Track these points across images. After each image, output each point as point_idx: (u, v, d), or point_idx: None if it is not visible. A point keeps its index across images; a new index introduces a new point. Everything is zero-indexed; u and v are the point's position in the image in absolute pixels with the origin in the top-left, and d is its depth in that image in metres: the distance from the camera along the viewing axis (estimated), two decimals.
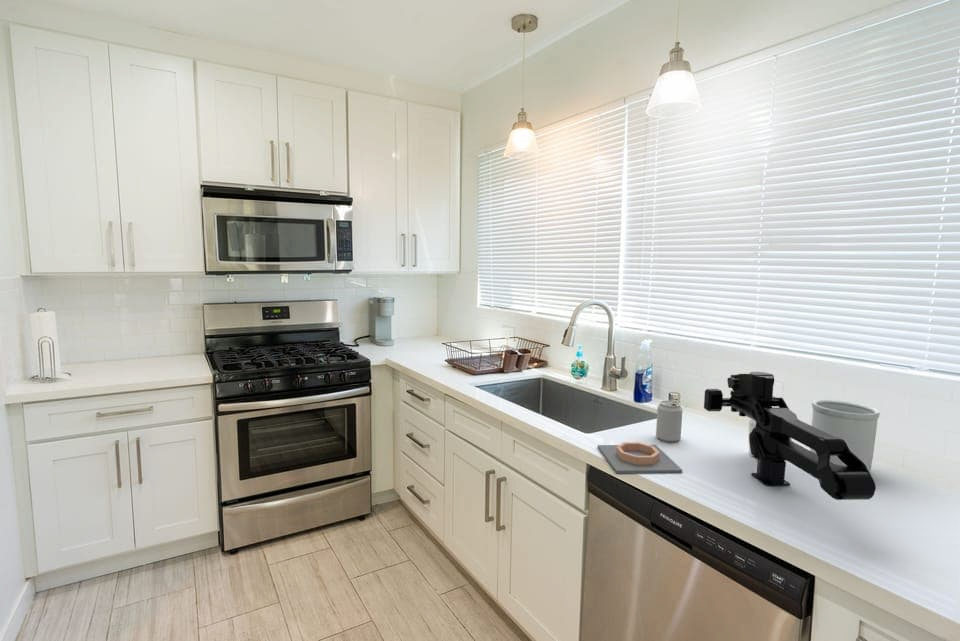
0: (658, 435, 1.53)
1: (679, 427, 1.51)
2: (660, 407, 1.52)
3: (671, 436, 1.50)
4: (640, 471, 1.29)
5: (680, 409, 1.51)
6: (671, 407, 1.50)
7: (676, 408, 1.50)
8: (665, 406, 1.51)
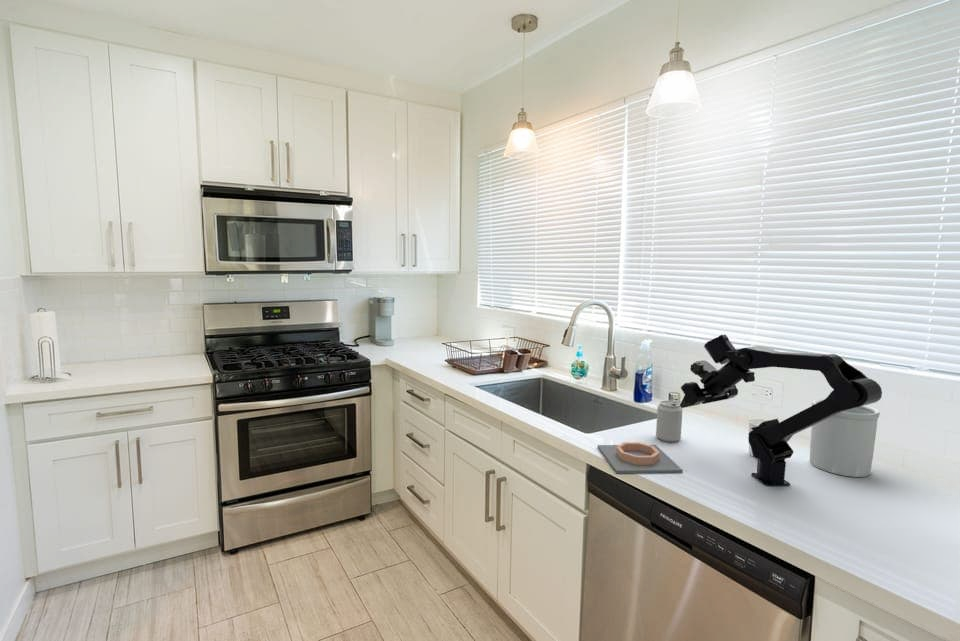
0: (658, 435, 1.53)
1: (679, 427, 1.51)
2: (660, 407, 1.52)
3: (671, 436, 1.50)
4: (640, 471, 1.29)
5: (680, 409, 1.51)
6: (671, 407, 1.50)
7: (676, 408, 1.50)
8: (665, 406, 1.51)
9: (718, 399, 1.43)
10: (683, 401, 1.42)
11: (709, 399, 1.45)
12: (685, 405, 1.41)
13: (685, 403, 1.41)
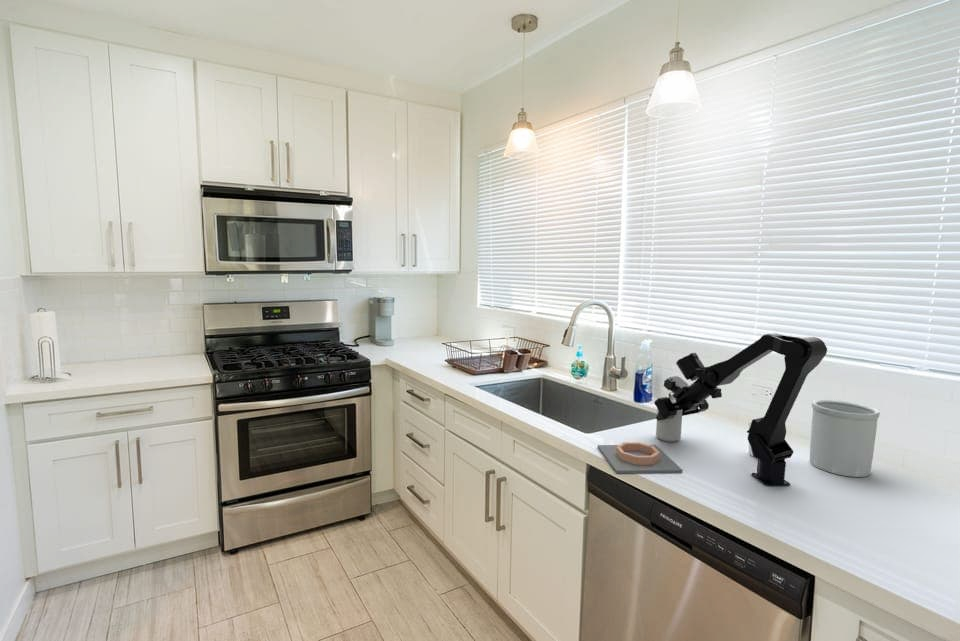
0: (658, 435, 1.53)
1: (679, 427, 1.51)
2: None
3: (671, 436, 1.50)
4: (640, 471, 1.29)
5: None
6: None
7: None
8: None
9: (689, 413, 1.52)
10: (659, 414, 1.51)
11: None
12: (660, 418, 1.50)
13: (660, 416, 1.50)
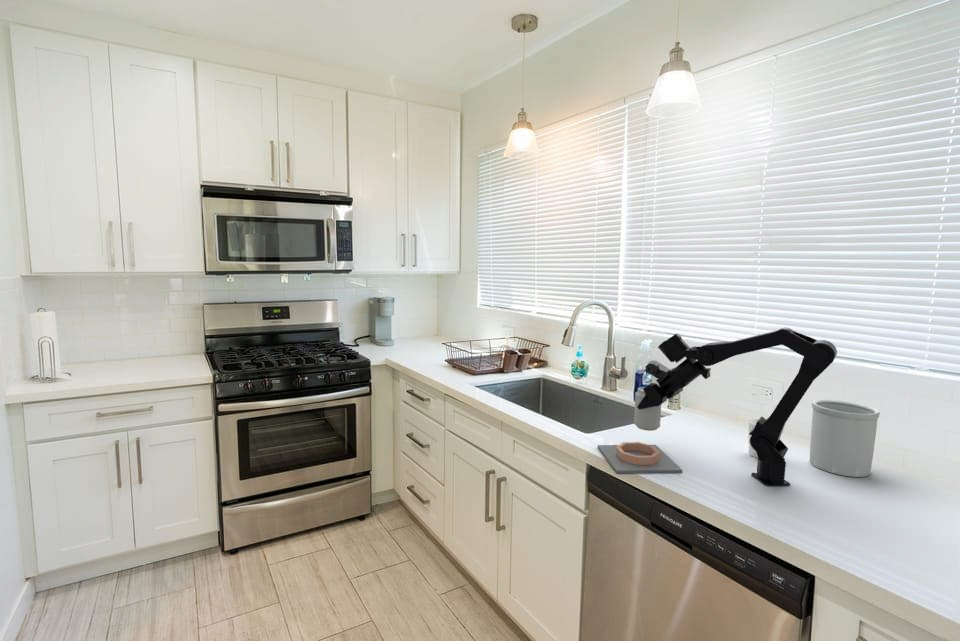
0: (640, 425, 1.43)
1: (660, 413, 1.43)
2: (641, 395, 1.42)
3: (654, 424, 1.42)
4: (640, 471, 1.29)
5: None
6: None
7: None
8: None
9: None
10: (642, 403, 1.41)
11: None
12: (644, 406, 1.40)
13: (644, 404, 1.40)
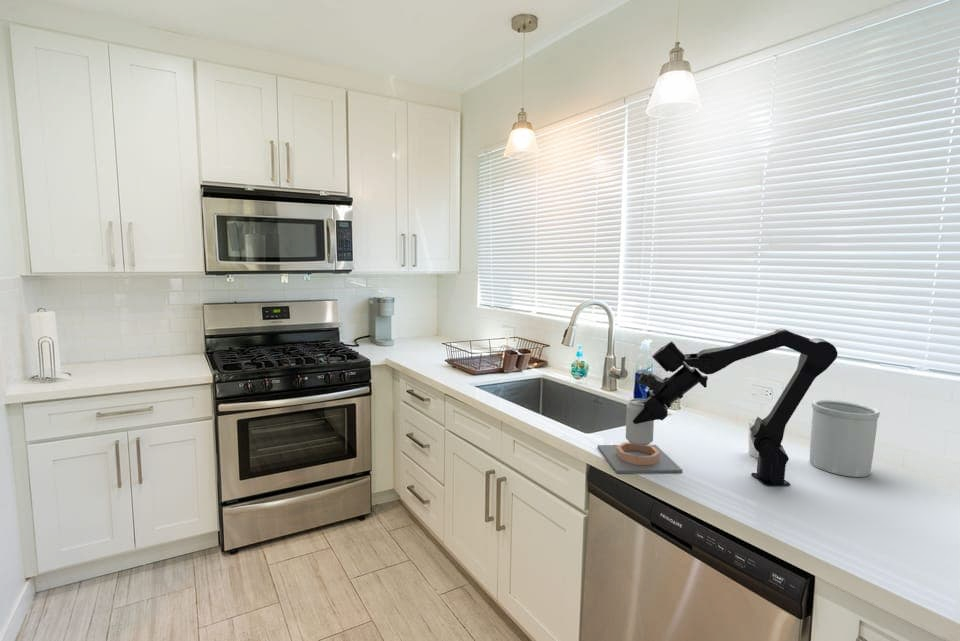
0: (635, 440, 1.34)
1: None
2: (636, 408, 1.33)
3: (650, 438, 1.34)
4: (640, 471, 1.29)
5: None
6: None
7: None
8: (642, 406, 1.33)
9: None
10: (639, 417, 1.32)
11: None
12: (642, 421, 1.31)
13: (642, 418, 1.31)
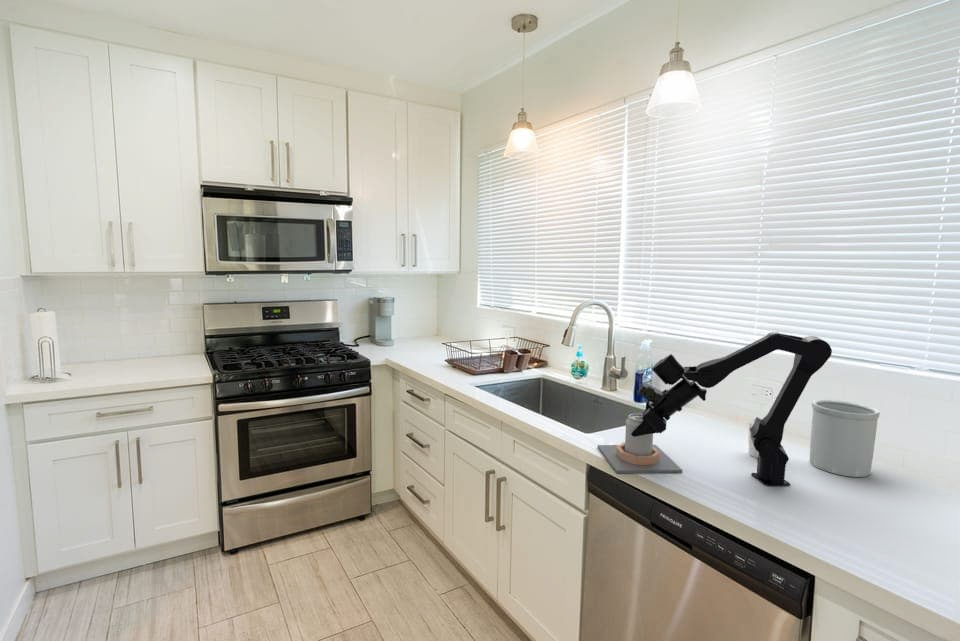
0: None
1: (652, 441, 1.36)
2: (635, 424, 1.34)
3: (649, 453, 1.34)
4: (640, 471, 1.29)
5: None
6: None
7: None
8: None
9: None
10: (638, 430, 1.31)
11: None
12: (640, 433, 1.31)
13: (640, 431, 1.31)
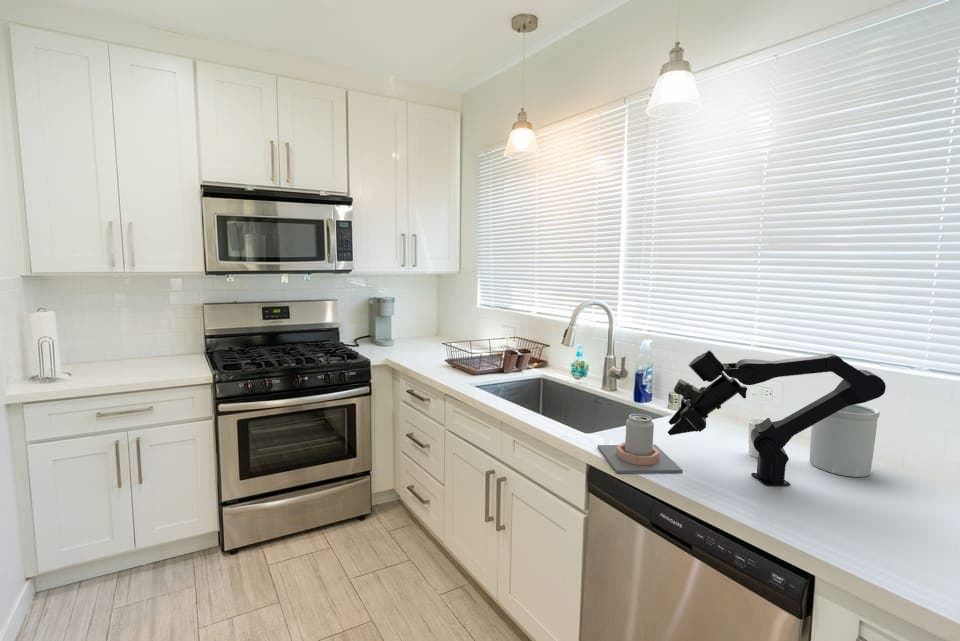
0: None
1: None
2: (636, 424, 1.34)
3: (649, 453, 1.34)
4: (640, 471, 1.29)
5: None
6: (648, 421, 1.34)
7: (651, 421, 1.35)
8: (642, 422, 1.33)
9: None
10: (675, 428, 1.28)
11: (679, 418, 1.37)
12: (678, 432, 1.28)
13: (678, 430, 1.27)
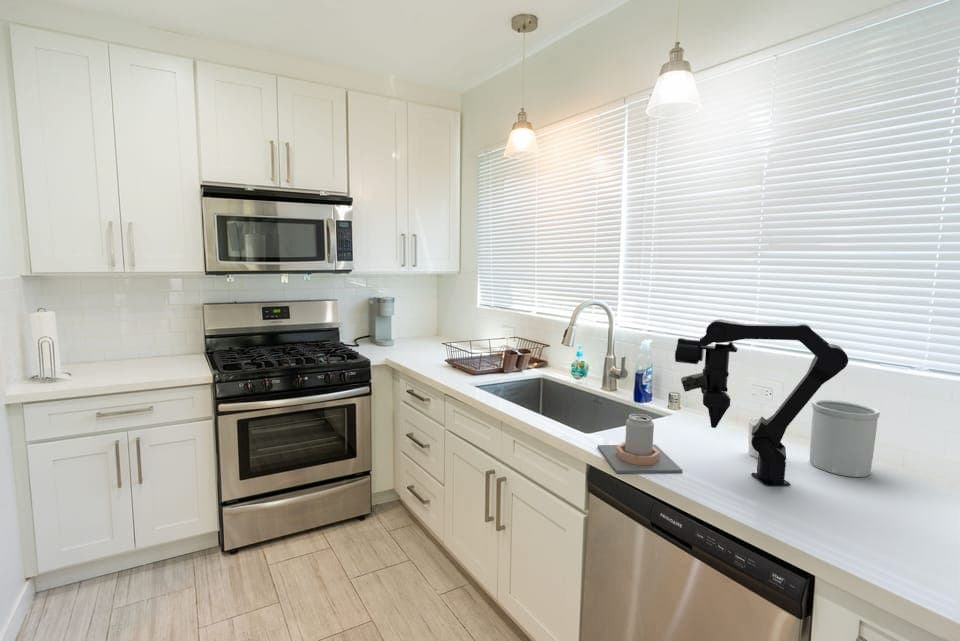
0: None
1: None
2: (636, 424, 1.34)
3: (649, 454, 1.34)
4: (640, 471, 1.29)
5: None
6: (648, 422, 1.34)
7: (651, 421, 1.35)
8: (642, 422, 1.33)
9: None
10: (712, 419, 1.26)
11: None
12: (717, 420, 1.25)
13: (716, 418, 1.25)
